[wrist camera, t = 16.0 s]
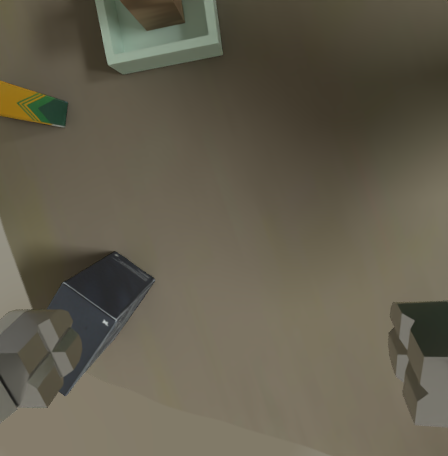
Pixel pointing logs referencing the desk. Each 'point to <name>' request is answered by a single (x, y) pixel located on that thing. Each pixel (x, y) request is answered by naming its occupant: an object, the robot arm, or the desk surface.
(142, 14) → the walnut block
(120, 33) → the tray
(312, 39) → the desk surface
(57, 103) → the crayon box
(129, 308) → the small box
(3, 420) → the robot arm
